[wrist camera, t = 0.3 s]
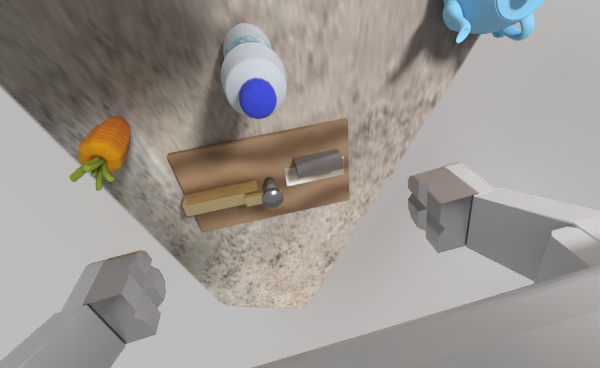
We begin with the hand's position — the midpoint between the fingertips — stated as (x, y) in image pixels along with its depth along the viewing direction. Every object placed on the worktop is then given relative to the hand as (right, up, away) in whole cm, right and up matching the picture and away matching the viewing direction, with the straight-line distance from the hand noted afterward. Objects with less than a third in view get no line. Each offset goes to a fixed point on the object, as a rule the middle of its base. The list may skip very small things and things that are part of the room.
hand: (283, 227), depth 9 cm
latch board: (-5, +3, +47) cm, 47 cm away
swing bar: (-11, 0, +46) cm, 47 cm away
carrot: (-26, +11, +36) cm, 45 cm away
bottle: (-7, +21, +33) cm, 39 cm away
